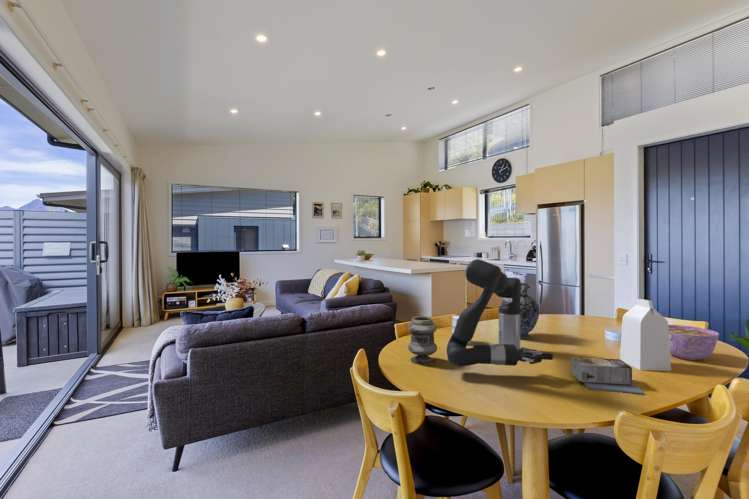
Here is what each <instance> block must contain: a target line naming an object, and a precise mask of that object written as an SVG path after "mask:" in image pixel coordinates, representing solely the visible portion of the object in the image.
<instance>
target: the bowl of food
mask: <svg viewBox="0 0 749 499" xmlns="http://www.w3.org/2000/svg"><path fill="white" fill-rule="evenodd" d="M668 327H669V343H670V355H673V356H674V357H675V358H678V359H682V360H687V361H699V360H700V359H701V360H702V359H706V358H708V357H710V356H711V355H712V354H713V353H714V351H715V348H716V345H717V343H718V340H719V337H720V333H719V332H717V331H716V330H712V329H709V328H708V329H707V328H703V327H699V326H698V327H697V326H690V325H680V324H668Z"/></svg>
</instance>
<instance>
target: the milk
mask: <svg viewBox="0 0 749 499" xmlns="http://www.w3.org/2000/svg"><path fill="white" fill-rule="evenodd" d="M621 321H622V322H621V335H620V337H621V338H620V348H619V349H620V350H619V352H620V353H619V359H620V360H622V361H623V362H625V363H627V365H628V364H629V366H630V365H631V366H630V367H632V366H633V367H632V368H634V367H635V368H634V369H636V368H637V369H636V370H638V369H639V371H640V370H660V371H661V372H663V371H665V372H667V371H668V372H670V371H672V362H671V353H670V343H669V327H668V325H669V321H668V320H667V318H665V316H663V315H662V314H661V313H660V312H659V311H657V309H655V308H654V305H653V301H652V300H648V299H643V298H637V299H636V304H635V305H634V306H633V307H631V308H630V309H629V310H628V311H626V312H625V313H624V314H623V316H622V320H621Z"/></svg>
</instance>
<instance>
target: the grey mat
mask: <svg viewBox="0 0 749 499" xmlns="http://www.w3.org/2000/svg"><path fill="white" fill-rule="evenodd" d="M582 383H583V384H584V386H585V387H586V389H587V390H594V391H604V392H613V393H620V392H622V393H621V394H630V393H632V394H631V395H641V396H642V395H643V396H645V392H644V391H643V390H642V389H641V388H640V387H639V386H638V385H637V384H636V383H635V382H634V381H633V380H632V385H623V384H609V383H595V382H582Z"/></svg>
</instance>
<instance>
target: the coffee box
mask: <svg viewBox="0 0 749 499" xmlns="http://www.w3.org/2000/svg"><path fill="white" fill-rule="evenodd" d="M571 374H572V375H573V376H574V377H575V378H576V379H577V380H578V381H579V382H582V383H583V382H595V383H609V384H623V385H632V381H633V367H632V366H630V365H628V364H626V363H625V362H623V361H622V360H620V358H599V357H598V358H597V357H582V356H581V357H579V356H577V357H576V356H572V357H571Z"/></svg>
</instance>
